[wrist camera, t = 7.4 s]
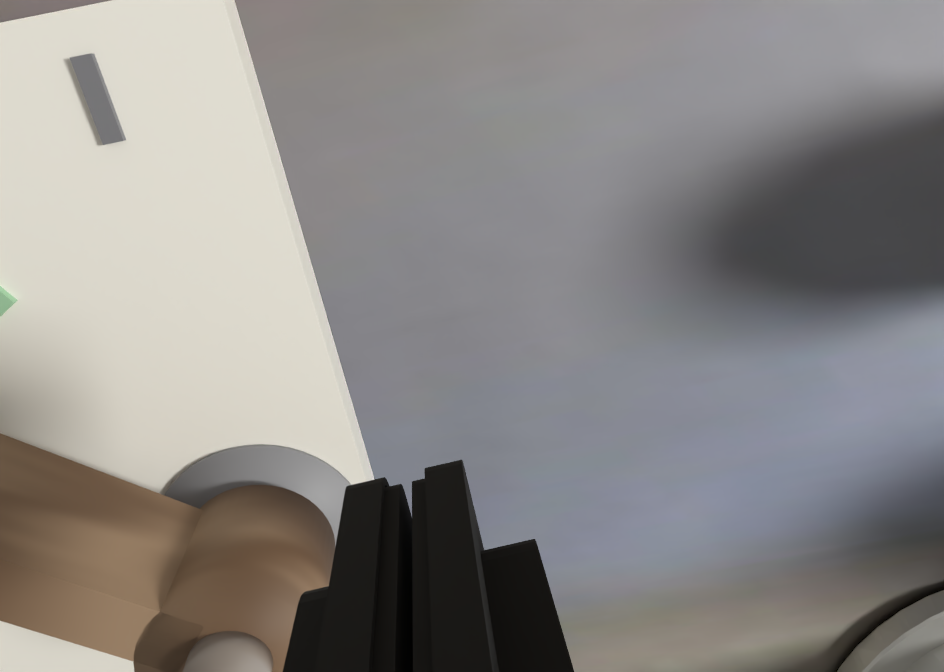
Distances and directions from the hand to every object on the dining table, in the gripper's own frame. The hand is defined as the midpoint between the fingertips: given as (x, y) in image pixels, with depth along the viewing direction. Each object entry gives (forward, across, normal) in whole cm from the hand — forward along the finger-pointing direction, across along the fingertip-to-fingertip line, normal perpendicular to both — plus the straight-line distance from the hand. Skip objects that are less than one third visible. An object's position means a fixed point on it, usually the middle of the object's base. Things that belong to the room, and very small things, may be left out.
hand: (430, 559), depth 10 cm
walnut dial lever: (+9, +10, +2) cm, 14 cm away
